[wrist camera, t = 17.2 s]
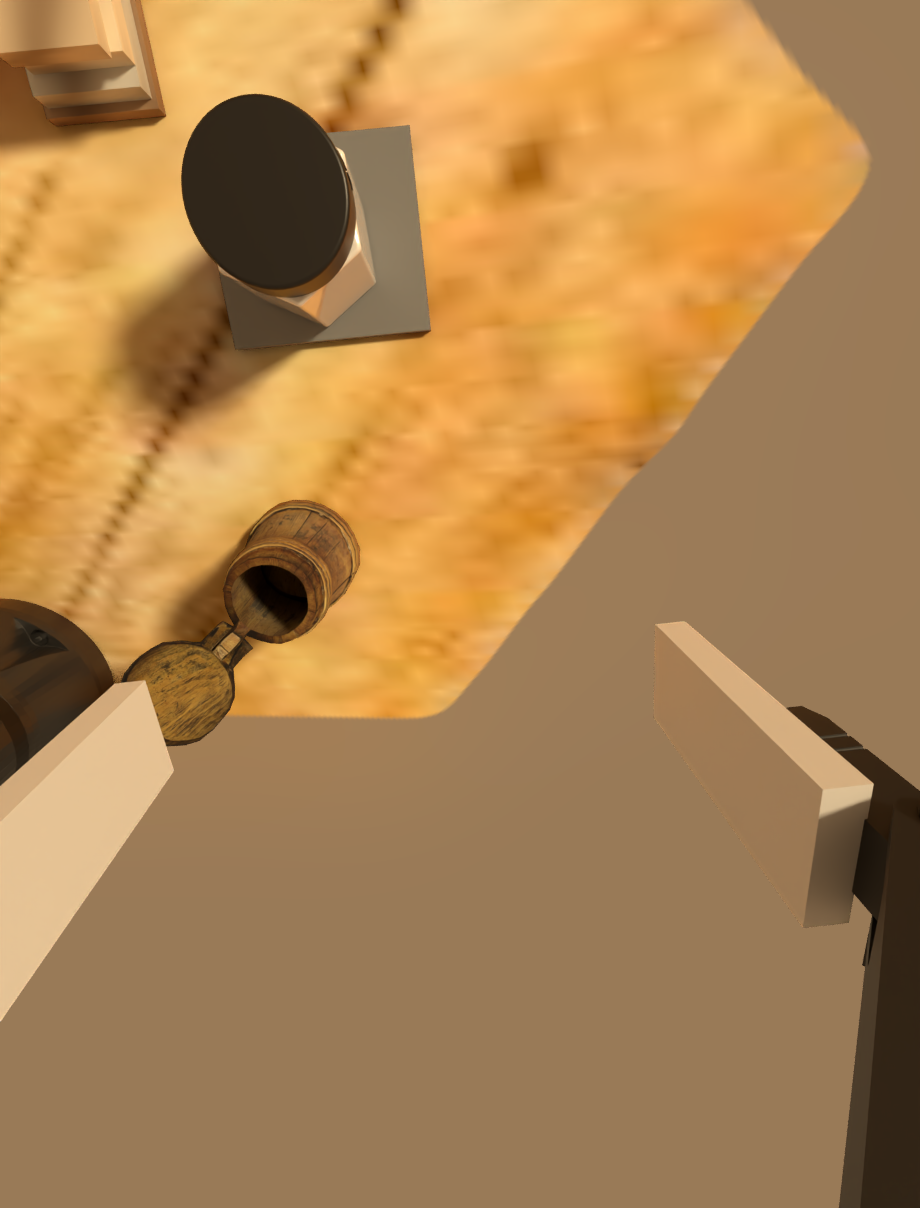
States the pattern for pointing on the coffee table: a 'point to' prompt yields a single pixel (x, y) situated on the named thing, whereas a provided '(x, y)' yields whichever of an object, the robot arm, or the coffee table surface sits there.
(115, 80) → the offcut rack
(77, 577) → the coffee table surface
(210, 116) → the jar
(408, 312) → the rubber mat
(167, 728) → the wooden mug
